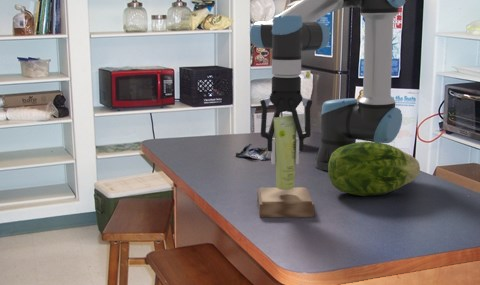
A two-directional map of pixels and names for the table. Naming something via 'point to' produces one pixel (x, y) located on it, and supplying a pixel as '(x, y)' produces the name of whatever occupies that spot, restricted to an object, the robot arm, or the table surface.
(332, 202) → the table surface
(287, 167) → the tube
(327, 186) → the table surface
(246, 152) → the snack package
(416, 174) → the lettuce
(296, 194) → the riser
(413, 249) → the table surface
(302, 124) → the cup
